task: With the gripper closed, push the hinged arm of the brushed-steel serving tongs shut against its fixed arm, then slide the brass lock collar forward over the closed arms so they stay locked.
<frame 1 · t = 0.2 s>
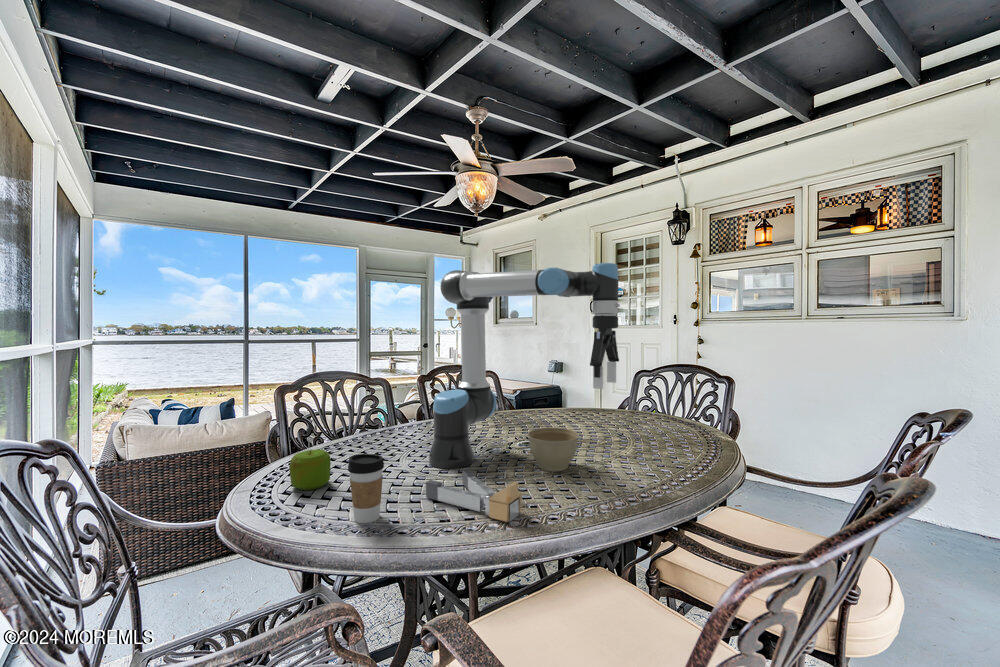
hand: (605, 385, 134), 28 cm above the table, fingers open, 13 cm apart
coffee cup: (367, 518, 108), on the table
planter bowl: (553, 467, 143), on the table
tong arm: (477, 486, 120), point 2 cm above the table, hinge at 32.0°
apple: (311, 486, 128), on the table
tongs fixed: (490, 511, 111), on the table
lock collar: (505, 498, 108), point 4 cm above the table, slide at 0.0 cm
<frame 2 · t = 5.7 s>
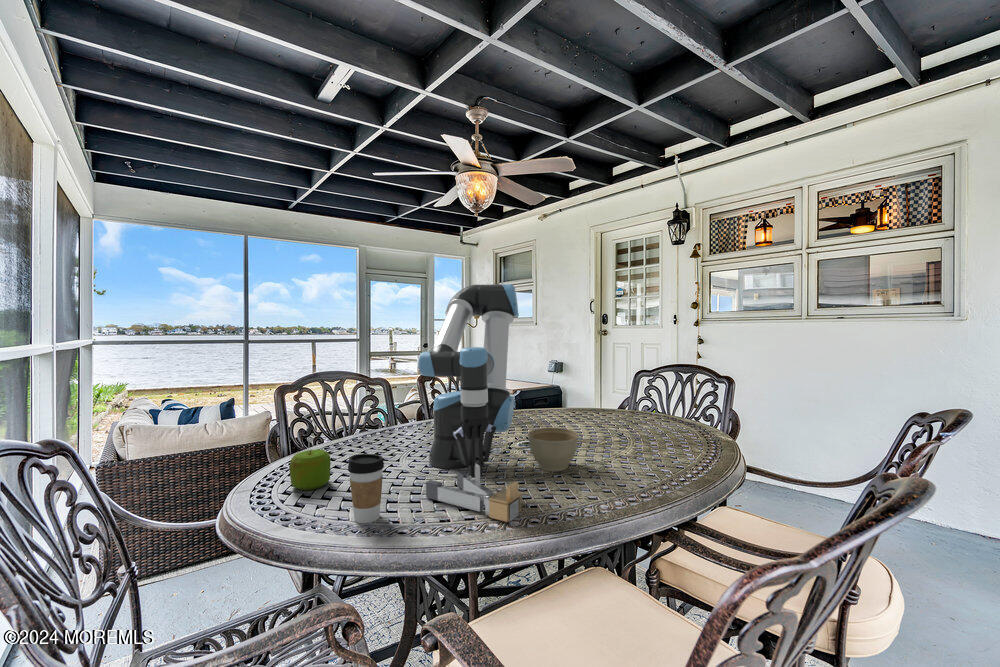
hand: (475, 488, 122), 1 cm above the table, fingers closed
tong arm: (474, 487, 120), point 2 cm above the table, hinge at 26.6°, touching gripper
everything else where it was.
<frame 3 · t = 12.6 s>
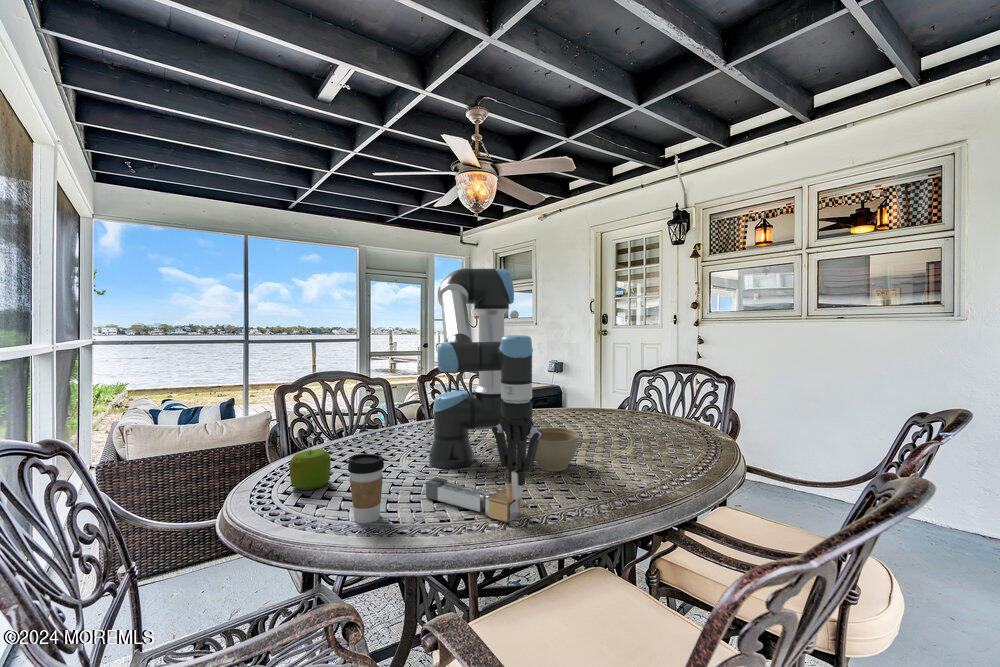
hand: (517, 497, 107), 5 cm above the table, fingers closed
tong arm: (459, 492, 117), point 2 cm above the table, hinge at -0.3°
lock collar: (505, 498, 108), point 4 cm above the table, slide at 0.1 cm, touching gripper
everything else where it was.
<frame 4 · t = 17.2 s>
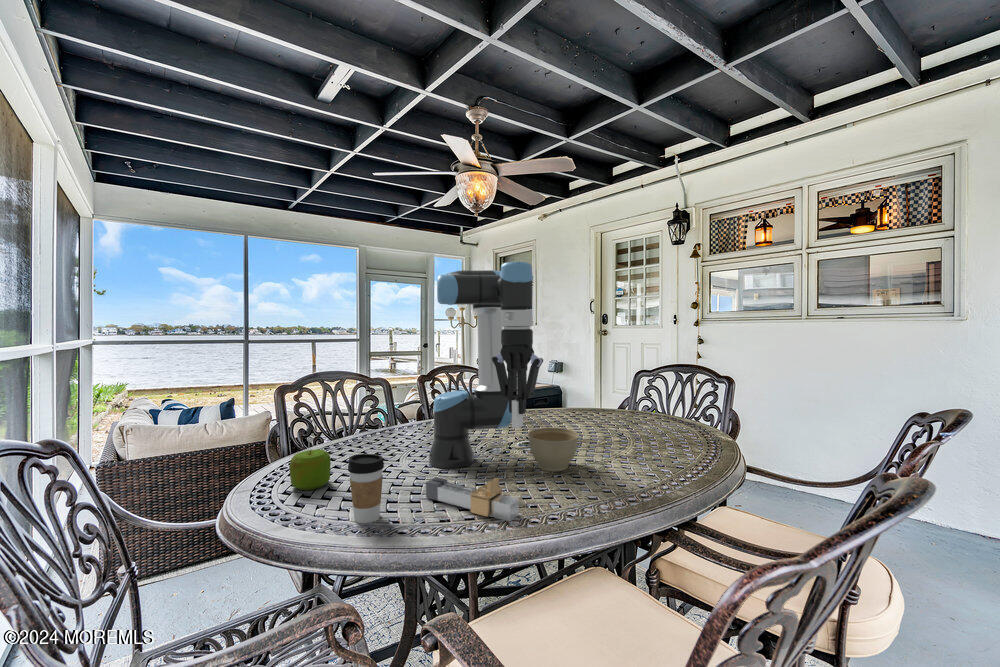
hand: (517, 426, 106), 22 cm above the table, fingers closed
lock collar: (486, 493, 111), point 4 cm above the table, slide at 5.5 cm
everything else where it was.
at the end: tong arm at +0° (first picture: +32°); lock collar slide at 5.5 cm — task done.
